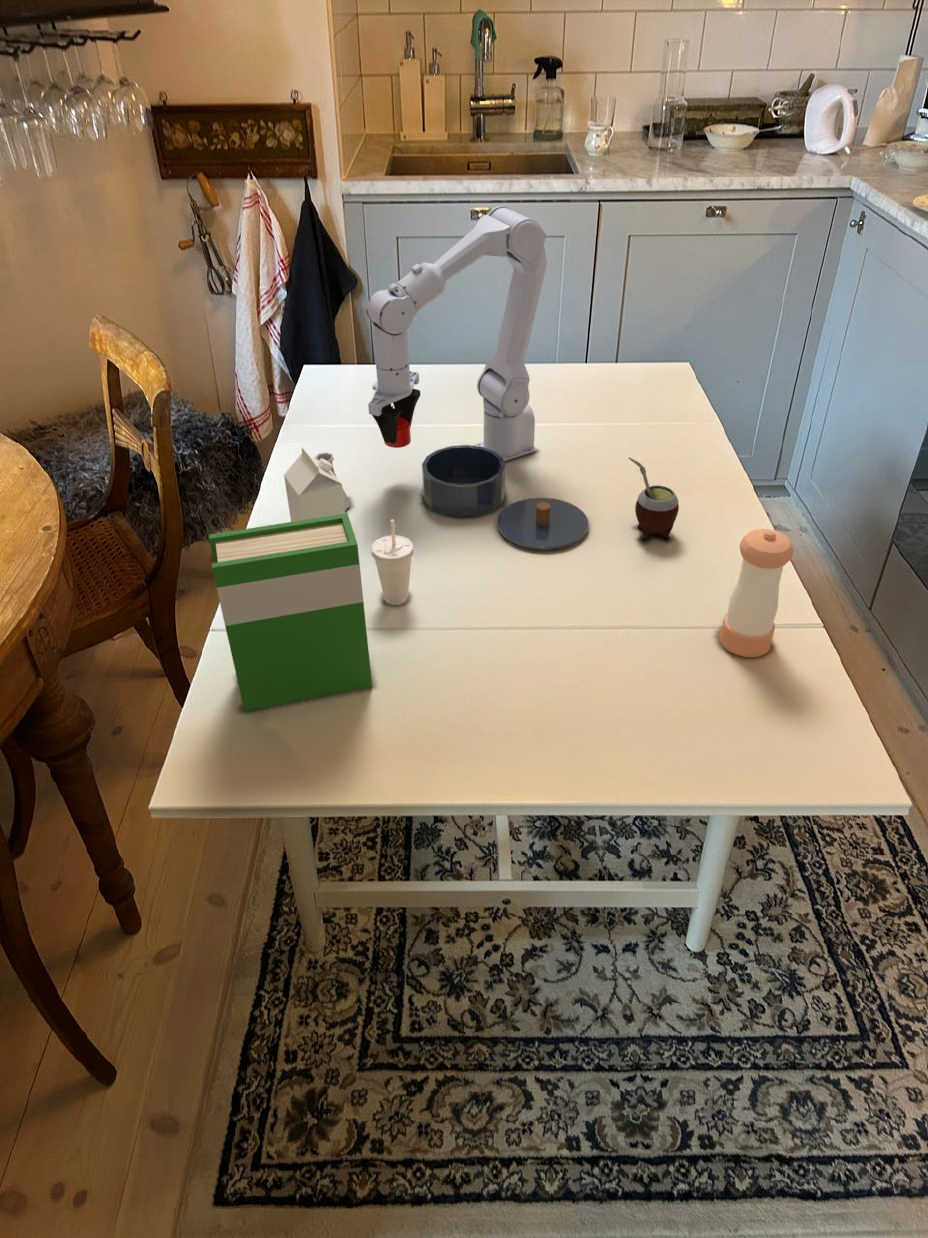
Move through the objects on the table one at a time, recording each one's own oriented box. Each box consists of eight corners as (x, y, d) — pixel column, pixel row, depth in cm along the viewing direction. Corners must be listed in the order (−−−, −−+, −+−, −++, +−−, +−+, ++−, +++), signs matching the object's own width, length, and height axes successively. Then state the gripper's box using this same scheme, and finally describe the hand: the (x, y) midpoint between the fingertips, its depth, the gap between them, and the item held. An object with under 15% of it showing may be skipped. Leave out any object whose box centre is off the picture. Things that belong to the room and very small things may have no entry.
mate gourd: (682, 532, 160) (694, 454, 150) (656, 552, 155) (667, 473, 146) (645, 516, 164) (655, 439, 154) (619, 535, 159) (627, 457, 150)
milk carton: (310, 575, 152) (295, 472, 140) (295, 553, 156) (280, 451, 145) (351, 563, 154) (340, 460, 142) (335, 541, 159) (323, 441, 147)
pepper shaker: (761, 663, 134) (789, 553, 122) (712, 646, 137) (734, 536, 125) (777, 635, 138) (805, 526, 126) (729, 619, 141) (752, 511, 129)
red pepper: (402, 433, 172) (401, 407, 169) (415, 444, 169) (414, 418, 166) (379, 440, 170) (377, 414, 167) (392, 451, 167) (390, 425, 164)
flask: (353, 496, 170) (349, 447, 164) (346, 518, 165) (340, 468, 158) (314, 494, 171) (308, 445, 165) (305, 516, 165) (298, 466, 159)
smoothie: (423, 591, 148) (419, 516, 139) (404, 614, 143) (399, 538, 135) (387, 581, 150) (381, 506, 141) (368, 604, 145) (360, 528, 137)
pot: (457, 467, 178) (456, 437, 174) (520, 491, 171) (521, 460, 167) (407, 499, 169) (405, 469, 165) (471, 526, 162) (470, 495, 158)
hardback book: (244, 711, 127) (212, 567, 112) (239, 675, 133) (208, 534, 118) (372, 686, 131) (357, 544, 116) (362, 653, 136) (347, 513, 121)
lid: (531, 493, 170) (532, 472, 168) (605, 521, 163) (607, 500, 160) (479, 531, 161) (479, 510, 158) (555, 563, 153) (556, 541, 151)
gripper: (393, 344, 167) (397, 414, 175) (350, 376, 157) (357, 448, 165) (428, 350, 164) (431, 421, 173) (386, 383, 154) (392, 456, 163)
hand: (397, 435), depth 169 cm, fingers closed on red pepper, 5 cm apart
